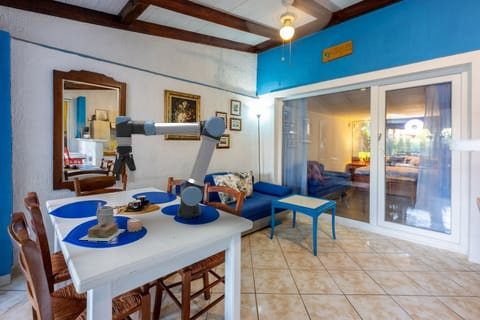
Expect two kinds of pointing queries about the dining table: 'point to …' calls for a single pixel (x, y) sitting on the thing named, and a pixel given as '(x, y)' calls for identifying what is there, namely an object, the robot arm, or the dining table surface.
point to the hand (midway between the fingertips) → (125, 184)
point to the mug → (105, 214)
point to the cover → (102, 230)
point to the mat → (103, 238)
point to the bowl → (134, 224)
